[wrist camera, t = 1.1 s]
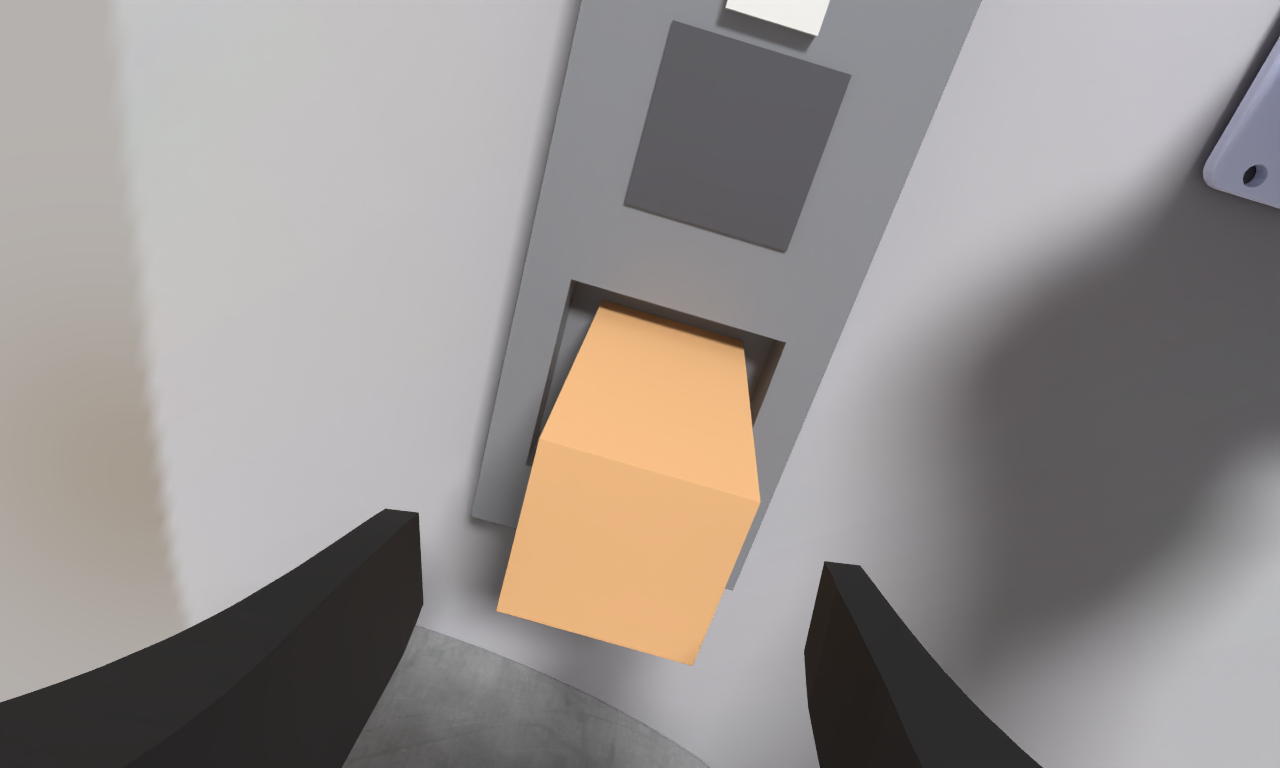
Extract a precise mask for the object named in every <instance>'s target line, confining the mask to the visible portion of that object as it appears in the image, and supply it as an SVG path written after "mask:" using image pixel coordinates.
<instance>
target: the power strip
mask: <svg viewBox="0 0 1280 768" xmlns="http://www.w3.org/2000/svg"><path fill="white" fill-rule="evenodd" d="M981 1H982V0H582V1H581V5H580V10H579V15H578V19H577V24H576V29H575V33H574V38H573V43H572V47H571V52H570V56H569V61H568V66H567V70H566V75H565V80H564V84H563V89H562V94H561V98H560V103H559V108H558V112H557V117H556V122H555V126H554V131H553V136H552V140H551V145H550V150H549V154H548V159H547V164H546V168H545V173H544V178H543V182H542V187H541V191H540V196H539V201H538V205H537V210H536V215H535V219H534V224H533V229H532V233H531V238H530V243H529V247H528V252H527V257H526V261H525V266H524V271H523V275H522V280H521V285H520V289H519V294H518V299H517V303H516V308H515V313H514V317H513V322H512V326H511V331H510V336H509V340H508V345H507V350H506V354H505V359H504V364H503V368H502V373H501V378H500V382H499V387H498V392H497V396H496V401H495V406H494V410H493V415H492V420H491V424H490V429H489V434H488V438H487V443H486V448H485V452H484V457H483V461H482V466H481V471H480V475H479V480H478V485H477V489H476V494H475V499H474V503H473V508H472V513H471V516H472V517H476V518H479V519H483V520H486V521H490V522H493V523H497V524H500V525H504V526H507V527H511V528H514V529H517V526H518V522H519V518H520V514H521V510H522V506H523V502H524V498H525V494H526V490H527V486H528V482H529V478H530V474H531V470H532V466H533V462H534V458H535V454H536V450H537V446H538V442H539V438H540V436H541V434H542V431H543V429H544V427H545V425H546V423H547V420H548V418H549V416H550V414H551V412H552V410H553V407H554V405H555V403H556V401H557V399H558V396H559V394H560V392H561V390H562V388H563V385H564V383H565V381H566V379H567V377H568V374H569V372H570V370H571V368H572V366H573V363H574V361H575V359H576V357H577V355H578V352H579V350H580V348H581V346H582V344H583V341H584V339H585V337H586V335H587V333H588V330H589V328H590V326H591V324H592V322H593V320H594V317H595V315H596V313H597V311H598V309H599V306H600V304H601V302H602V300H605V301H608V302H611V303H615V304H618V305H622V306H625V307H628V308H632V309H635V310H639V311H642V312H645V313H649V314H652V315H656V316H659V317H662V318H666V319H669V320H673V321H676V322H679V323H683V324H686V325H689V326H693V327H696V328H700V329H703V330H706V331H710V332H713V333H717V334H720V335H723V336H727V337H730V338H734V339H737V340H740V341H743V346H744V355H745V364H746V373H747V382H748V392H749V401H750V410H751V419H752V428H753V438H754V447H755V456H756V465H757V474H758V484H759V493H760V505H759V507H758V510H757V512H756V514H755V517H754V519H753V522H752V524H751V526H750V529H749V531H748V534H747V536H746V539H745V541H744V543H743V546H742V548H741V551H740V553H739V555H738V558H737V560H736V563H735V565H734V567H733V570H732V572H731V575H730V577H729V579H728V582H727V584H726V587H725V588H726V589H729V590H733V589H734V586H735V584H736V582H737V579H738V577H739V575H740V572H741V570H742V567H743V565H744V563H745V560H746V558H747V556H748V553H749V551H750V549H751V546H752V544H753V541H754V539H755V537H756V534H757V532H758V530H759V527H760V525H761V522H762V520H763V518H764V515H765V513H766V511H767V508H768V506H769V503H770V501H771V499H772V496H773V494H774V492H775V489H776V487H777V485H778V482H779V480H780V477H781V475H782V473H783V470H784V468H785V466H786V463H787V461H788V458H789V456H790V454H791V451H792V449H793V447H794V444H795V442H796V440H797V437H798V435H799V432H800V430H801V428H802V425H803V423H804V421H805V418H806V416H807V413H808V411H809V409H810V406H811V404H812V402H813V399H814V397H815V394H816V392H817V390H818V387H819V385H820V383H821V380H822V378H823V376H824V373H825V371H826V368H827V366H828V364H829V361H830V359H831V357H832V354H833V352H834V349H835V347H836V345H837V342H838V340H839V338H840V335H841V333H842V331H843V328H844V326H845V323H846V321H847V319H848V316H849V314H850V312H851V309H852V307H853V304H854V302H855V300H856V297H857V295H858V293H859V290H860V288H861V285H862V283H863V281H864V278H865V276H866V274H867V271H868V269H869V267H870V264H871V262H872V259H873V257H874V255H875V252H876V250H877V248H878V245H879V243H880V240H881V238H882V236H883V233H884V231H885V229H886V226H887V224H888V222H889V219H890V217H891V214H892V212H893V210H894V207H895V205H896V203H897V200H898V198H899V195H900V193H901V191H902V188H903V186H904V184H905V181H906V179H907V176H908V174H909V172H910V169H911V167H912V165H913V162H914V160H915V158H916V155H917V153H918V150H919V148H920V146H921V143H922V141H923V139H924V136H925V134H926V131H927V129H928V127H929V124H930V122H931V120H932V117H933V115H934V113H935V110H936V108H937V105H938V103H939V101H940V98H941V96H942V94H943V91H944V89H945V86H946V84H947V82H948V79H949V77H950V75H951V72H952V70H953V67H954V65H955V63H956V60H957V58H958V56H959V53H960V51H961V49H962V46H963V44H964V41H965V39H966V37H967V34H968V32H969V30H970V27H971V25H972V22H973V20H974V18H975V15H976V13H977V11H978V8H979V6H980V4H981Z"/></svg>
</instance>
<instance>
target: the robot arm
mask: <svg viewBox="0 0 1280 768" xmlns="http://www.w3.org/2000/svg"><path fill="white" fill-rule="evenodd" d="M1254 165H1255V166H1256V170H1257V171H1256V174H1255V177H1254V178H1253V179H1252V180H1251V181H1250V182H1249V183H1247V184H1244V183H1243V176H1244V173H1245V172H1246V171H1247V170H1248V169H1249V167H1252V166H1254ZM1203 179H1204V181H1205V182H1206V184H1207V185H1208V186H1210V187H1212V188H1213V189H1217V190H1220V191H1223V192H1226V193H1230V194H1233V195H1236V196H1239V197H1243V198H1246V199H1249V200H1252V201H1256V202H1259V203H1262V204H1266V205H1269V206H1272V207H1275V208H1279V209H1280V37H1279V39H1278V40H1277V42H1276V44H1275V45H1274V47H1273V49H1272V51H1271V52H1270V54H1269V56H1268V57H1267V59H1266V61H1265V62H1264V64H1263V66H1262V68H1261V69H1260V71H1259V73H1258V74H1257V76H1256V78H1255V79H1254V81H1253V83H1252V85H1251V86H1250V88H1249V90H1248V91H1247V93H1246V95H1245V97H1244V98H1243V100H1242V102H1241V103H1240V105H1239V107H1238V108H1237V110H1236V112H1235V114H1234V115H1233V117H1232V119H1231V120H1230V122H1229V124H1228V125H1227V127H1226V129H1225V131H1224V132H1223V134H1222V136H1221V137H1220V139H1219V141H1218V142H1217V144H1216V146H1215V148H1214V149H1213V151H1212V153H1211V154H1210V156H1209V158H1208V160H1207V161H1206V164H1205V166H1204V169H1203ZM422 606H423V587H422V568H421V549H420V530H419V513H417V512H408V511H400V510H391V509H384V510H383V511H381V512H379V513H378V514H376V515H375V516H373V517H372V518H370V519H369V520H367V521H366V522H364V523H363V524H361V525H360V526H358V527H357V528H355V529H354V530H352V531H351V532H349V533H348V534H346V535H345V536H343V537H342V538H340V539H339V540H337V541H336V542H335V543H333V544H332V545H330V546H328V547H327V548H325V549H324V550H322V551H321V552H319V553H318V554H316V555H315V556H313V557H312V558H310V559H309V560H307V561H306V562H304V563H303V564H301V565H300V566H298V567H297V568H295V569H293V570H292V571H290V572H289V573H287V574H285V575H284V576H282V577H280V578H279V579H277V580H275V581H273V582H272V583H270V584H268V585H267V586H265V587H263V588H262V589H260V590H258V591H257V592H255V593H253V594H252V595H250V596H248V597H247V598H245V599H243V600H242V601H240V602H238V603H236V604H235V605H233V606H231V607H229V608H227V609H226V610H224V611H222V612H220V613H218V614H216V615H214V616H212V617H210V618H208V619H206V620H204V621H202V622H200V623H198V624H196V625H194V626H192V627H190V628H188V629H186V630H184V631H182V632H180V633H178V634H176V635H174V636H172V637H170V638H168V639H166V640H163V641H161V642H159V643H156V644H154V645H151V646H150V647H147V648H144V649H142V650H140V651H138V652H135V653H133V654H130V655H128V656H126V657H123V658H121V659H119V660H116V661H114V662H112V663H109V664H107V665H105V666H102V667H100V668H97V669H95V670H92V671H89V672H87V673H84V674H81V675H79V676H76V677H73V678H71V679H68V680H65V681H63V682H60V683H57V684H54V685H51V686H48V687H46V688H43V689H40V690H37V691H34V692H31V693H28V694H25V695H22V696H19V697H16V698H13V699H10V700H7V701H4V702H1V703H0V768H342V766H343V765H344V763H345V761H346V759H347V757H348V756H349V754H350V752H351V750H352V748H353V746H354V745H355V743H356V741H357V739H358V737H359V736H360V734H361V732H362V730H363V728H364V726H365V725H366V723H367V721H368V719H369V717H370V716H371V714H372V712H373V710H374V708H375V706H376V705H377V703H378V701H379V699H380V697H381V696H382V694H383V692H384V690H385V688H386V686H387V685H388V683H389V681H390V679H391V677H392V675H393V673H394V672H395V670H396V668H397V666H398V664H399V662H400V660H401V658H402V656H403V654H404V652H405V650H406V647H407V645H408V642H409V640H410V637H411V635H412V632H413V630H414V627H415V624H416V622H417V619H418V616H419V614H420V611H421V608H422ZM804 656H805V671H806V686H807V697H808V708H809V713H810V719H811V724H812V729H813V734H814V739H815V745H816V750H817V755H818V760H819V765H820V768H1042V767H1041V766H1040V765H1039V764H1038V763H1037V762H1036V761H1034V760H1033V759H1032V758H1031V757H1030V756H1029V755H1028V754H1026V753H1025V752H1024V751H1023V750H1022V749H1021V748H1020V747H1019V746H1018V745H1017V744H1016V743H1014V742H1013V741H1012V740H1011V739H1010V738H1009V737H1008V736H1007V735H1006V734H1005V733H1004V732H1003V731H1002V730H1001V729H1000V728H999V727H998V726H996V725H995V724H994V723H993V722H992V721H991V720H990V719H989V718H988V717H987V716H986V715H985V714H984V713H983V712H982V711H981V710H980V709H979V708H978V707H977V706H976V705H975V704H974V703H973V702H972V701H971V700H970V699H969V698H968V697H967V695H966V694H965V693H964V692H963V691H962V690H961V689H960V688H959V687H958V686H957V685H956V684H955V683H954V681H953V680H952V679H951V678H950V677H949V676H948V675H947V674H946V673H945V672H944V671H943V669H942V668H941V667H940V666H939V665H938V664H937V662H936V661H935V660H934V659H933V658H932V657H931V655H930V654H929V653H928V652H927V651H926V649H925V648H924V647H923V646H922V645H921V643H920V642H919V641H918V640H917V639H916V637H915V636H914V635H913V634H912V632H911V631H910V630H909V629H908V627H907V626H906V625H905V624H904V622H903V621H902V620H901V618H900V617H899V616H898V615H897V613H896V612H895V611H894V609H893V608H892V607H891V605H890V604H889V603H888V602H887V600H886V599H885V598H884V596H883V595H882V594H881V592H880V591H879V590H878V588H877V587H876V586H875V584H874V583H873V582H872V580H871V579H870V578H869V577H868V575H867V574H866V573H865V571H864V570H863V569H862V568H861V566H859V565H851V564H843V563H834V562H826V561H824V566H823V570H822V575H821V579H820V584H819V588H818V592H817V597H816V601H815V606H814V610H813V615H812V619H811V623H810V628H809V632H808V637H807V641H806V646H805V650H804Z"/></svg>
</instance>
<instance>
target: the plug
mask: <svg viewBox="0 0 1280 768" xmlns="http://www.w3.org/2000/svg"><path fill="white" fill-rule="evenodd" d="M759 505H760V493H759V484H758V474H757V465H756V456H755V447H754V438H753V428H752V419H751V410H750V401H749V392H748V382H747V373H746V364H745V355H744V346H743V341H740V340H737V339H734V338H730V337H727V336H723V335H720V334H717V333H713V332H710V331H706V330H703V329H700V328H696V327H693V326H689V325H686V324H683V323H679V322H676V321H673V320H669V319H666V318H662V317H659V316H656V315H652V314H649V313H645V312H642V311H639V310H635V309H632V308H628V307H625V306H622V305H618V304H615V303H611V302H608V301H605V300H602V302H601V304H600V306H599V309H598V311H597V313H596V315H595V317H594V320H593V322H592V324H591V326H590V328H589V330H588V333H587V335H586V337H585V339H584V341H583V344H582V346H581V348H580V350H579V352H578V355H577V357H576V359H575V361H574V363H573V366H572V368H571V370H570V372H569V374H568V377H567V379H566V381H565V383H564V385H563V388H562V390H561V392H560V394H559V396H558V399H557V401H556V403H555V405H554V407H553V410H552V412H551V414H550V416H549V418H548V420H547V423H546V425H545V427H544V429H543V431H542V434H541V436H540V438H539V442H538V446H537V450H536V454H535V458H534V462H533V466H532V470H531V474H530V478H529V482H528V486H527V490H526V494H525V498H524V502H523V506H522V510H521V514H520V518H519V522H518V526H517V530H516V534H515V538H514V542H513V546H512V550H511V554H510V558H509V562H508V566H507V570H506V574H505V578H504V582H503V586H502V590H501V594H500V598H499V602H498V606H497V610H496V611H498V612H502V613H505V614H509V615H513V616H516V617H520V618H523V619H527V620H530V621H534V622H538V623H541V624H545V625H548V626H552V627H555V628H559V629H563V630H566V631H570V632H573V633H577V634H580V635H584V636H587V637H591V638H595V639H598V640H602V641H605V642H609V643H612V644H616V645H620V646H623V647H627V648H630V649H634V650H637V651H641V652H645V653H648V654H652V655H655V656H659V657H662V658H666V659H670V660H673V661H677V662H680V663H684V664H687V665H691V666H693V664H694V661H695V659H696V656H697V654H698V652H699V649H700V647H701V644H702V642H703V640H704V637H705V635H706V632H707V630H708V628H709V625H710V623H711V620H712V618H713V616H714V613H715V611H716V608H717V606H718V604H719V601H720V599H721V596H722V594H723V591H724V589H725V587H726V584H727V582H728V579H729V577H730V575H731V572H732V570H733V567H734V565H735V563H736V560H737V558H738V555H739V553H740V551H741V548H742V546H743V543H744V541H745V539H746V536H747V534H748V531H749V529H750V526H751V524H752V522H753V519H754V517H755V514H756V512H757V510H758V507H759Z"/></svg>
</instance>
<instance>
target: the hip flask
mask: <svg viewBox="0 0 1280 768" xmlns="http://www.w3.org/2000/svg"><path fill="white" fill-rule="evenodd" d="M342 768H709V767H708V766H707V765H706V764H705V763H704V762H703V761H701V760H700V759H699V758H697V757H696V756H694V755H692V754H691V753H689V752H688V751H686V750H685V749H683V748H682V747H680V746H679V745H677V744H676V743H674V742H672V741H671V740H669V739H667V738H666V737H664V736H663V735H661V734H659V733H658V732H656V731H654V730H653V729H651V728H649V727H647V726H646V725H644V724H642V723H640V722H639V721H637V720H635V719H633V718H631V717H630V716H628V715H626V714H624V713H622V712H620V711H618V710H616V709H615V708H613V707H611V706H609V705H607V704H605V703H603V702H601V701H599V700H597V699H595V698H593V697H591V696H589V695H587V694H585V693H583V692H581V691H579V690H577V689H575V688H573V687H570V686H568V685H566V684H564V683H562V682H559V681H557V680H555V679H553V678H551V677H548V676H546V675H544V674H542V673H539V672H537V671H535V670H532V669H530V668H528V667H526V666H523V665H521V664H519V663H516V662H514V661H511V660H509V659H506V658H504V657H502V656H499V655H497V654H494V653H492V652H489V651H487V650H484V649H481V648H478V647H476V646H473V645H470V644H468V643H465V642H462V641H459V640H457V639H454V638H451V637H448V636H445V635H442V634H439V633H436V632H433V631H430V630H427V629H424V628H421V627H418V626H415V627H414V630H413V632H412V635H411V637H410V640H409V642H408V645H407V647H406V650H405V652H404V654H403V656H402V658H401V660H400V662H399V664H398V666H397V668H396V670H395V672H394V673H393V675H392V677H391V679H390V681H389V683H388V685H387V686H386V688H385V690H384V692H383V694H382V696H381V697H380V699H379V701H378V703H377V705H376V706H375V708H374V710H373V712H372V714H371V716H370V717H369V719H368V721H367V723H366V725H365V726H364V728H363V730H362V732H361V734H360V736H359V737H358V739H357V741H356V743H355V745H354V746H353V748H352V750H351V752H350V754H349V756H348V757H347V759H346V761H345V763H344V765H343V766H342Z"/></svg>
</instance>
